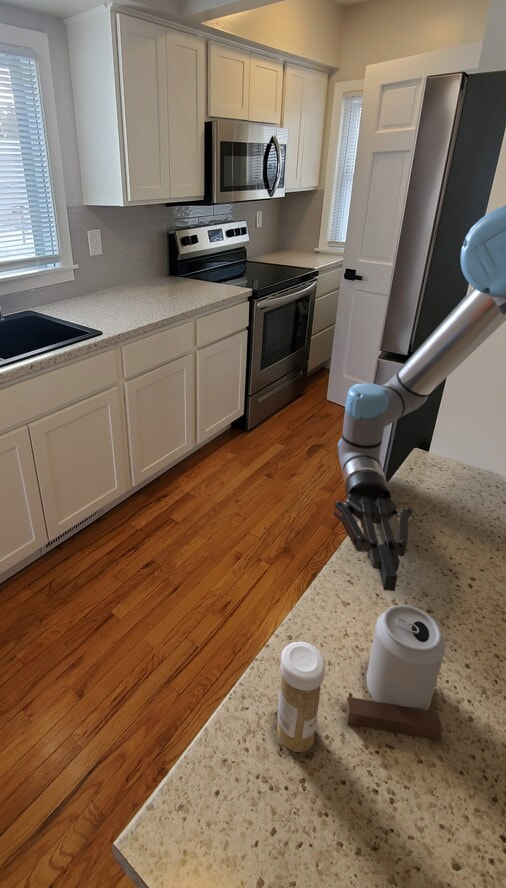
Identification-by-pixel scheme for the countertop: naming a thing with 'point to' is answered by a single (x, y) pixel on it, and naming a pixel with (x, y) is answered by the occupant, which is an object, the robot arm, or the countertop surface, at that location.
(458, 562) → the countertop surface
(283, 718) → the sprinkles bottle
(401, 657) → the can
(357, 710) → the bar
